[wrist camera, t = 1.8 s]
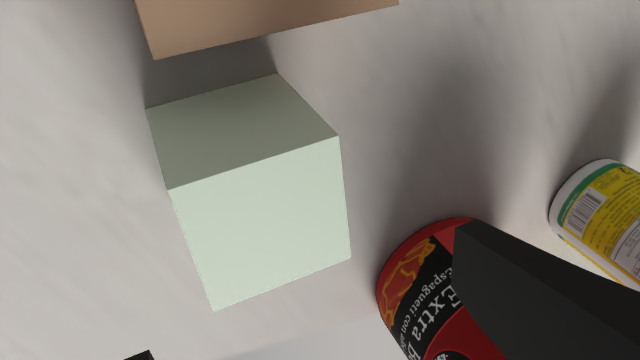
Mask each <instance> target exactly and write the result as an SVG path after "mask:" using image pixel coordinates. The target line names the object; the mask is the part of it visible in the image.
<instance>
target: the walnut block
mask: <svg viewBox="0 0 640 360" xmlns="http://www.w3.org/2000/svg"><path fill="white" fill-rule="evenodd" d="M133 2H134V5H135V8H136V11H137V15H138V18H139V21H140V24H141V27H142V31H143V34H144V36H145V39H146V41H147V44H148V47H149V49H150V52H151V54H152V57H153V60H158V59H162V58H167V57H171V56H175V55H180V54H184V53H188V52H193V51H197V50H202V49H206V48H210V47H215V46H219V45H224V44H228V43H232V42H237V41H241V40H245V39H250V38H254V37H259V36H263V35H267V34H272V33H276V32H281V31H285V30H289V29H294V28H298V27H302V26H307V25H311V24H316V23H320V22H324V21H329V20H333V19H338V18H342V17H346V16H351V15H355V14H359V13H364V12H368V11H373V10H377V9H381V8H386V7H390V6H395V5H399V0H133Z"/></svg>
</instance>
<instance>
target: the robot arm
mask: <svg viewBox="0 0 640 360" xmlns="http://www.w3.org/2000/svg"><path fill="white" fill-rule="evenodd" d="M451 287H452V289H453V290H454V292H455V293H456V295H457V296H458V298H459V299H460V301H461V303H462V304H463V306H464V307H465V308H466V310H467V311H468V313H469V314H470V315H471V317H472V318H473V320H474V321H475V322H476V324H477V325H478V326H479V327H480V328H481V329H482V331H483V332H484V333H485V334H486V335H487V336H488V338H489V339H490V340H491V341H492V342H493V343H494V344H495V346H496V347H497V348H498V349H499V350H500V351H501V352H502V354H503V355H504V356H505V357H506V358H507V359H508V360H640V292H639V291H637V290H634V289H631V288H629V287H626V286H624V285H621V284H619V283H616V282H614V281H611V280H609V279H606V278H604V277H602V276H599V275H597V274H594V273H592V272H590V271H587V270H585V269H583V268H580V267H578V266H576V265H574V264H571V263H569V262H567V261H565V260H563V259H560V258H558V257H556V256H554V255H552V254H550V253H547V252H545V251H543V250H541V249H539V248H537V247H535V246H533V245H531V244H528V243H526V242H524V241H522V240H520V239H518V238H516V237H514V236H512V235H510V234H508V233H506V232H503V231H501V230H499V229H497V228H495V227H493V226H491V225H489V224H487V223H484V222H482V221H480V220H478V219H475V220H472V221H470V222H467V223H465V224H462V225H460V226H457V227H455V232H454V246H453V260H452V274H451ZM124 360H154V358H153V356H152V355H151V353H150V351H149V350H147V351H144V352H142V353H139V354H137V355H134V356H132V357H129V358H127V359H124Z"/></svg>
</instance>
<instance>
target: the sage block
mask: <svg viewBox="0 0 640 360" xmlns="http://www.w3.org/2000/svg"><path fill="white" fill-rule="evenodd" d="M145 111H146V115H147V118H148V122H149V126H150V129H151V133H152V137H153V140H154V144H155V148H156V151H157V155H158V159H159V162H160V166H161V170H162V173H163V177H164V181H165V184H166V188H167V191H168V194H169V197H170V199H171V202H172V205H173V207H174V210H175V213H176V215H177V218H178V220H179V223H180V226H181V228H182V231H183V234H184V236H185V239H186V242H187V244H188V247H189V250H190V252H191V255H192V258H193V260H194V263H195V266H196V268H197V271H198V273H199V276H200V279H201V281H202V284H203V287H204V289H205V292H206V295H207V297H208V300H209V303H210V305H211V308H212V311H213V312H215V311H218V310H220V309H223V308H226V307H228V306H231V305H233V304H236V303H238V302H241V301H243V300H246V299H248V298H251V297H253V296H256V295H258V294H261V293H263V292H266V291H268V290H271V289H274V288H276V287H279V286H281V285H284V284H286V283H289V282H291V281H294V280H296V279H299V278H301V277H304V276H306V275H309V274H311V273H314V272H316V271H319V270H322V269H324V268H327V267H329V266H332V265H334V264H337V263H339V262H342V261H344V260H347V259H349V258H351V249H350V240H349V230H348V220H347V211H346V201H345V191H344V181H343V172H342V162H341V152H340V143H339V135H338V134H337V133H336V132H335V131H334V130H333V129H332V128H331V127H330V126H329V125H328V124H327V123H326V122H325V121H324V120H323V119H322V118H321V117H320V116H319V115H318V114H317V113H316V112H315V111H314V110H313V108H312V107H311V106H310V105H309V104H308V103H307V102H306V101H305V100H304V99H303V98H302V97H301V96H300V95H299V94H298V93H297V92H296V91H295V90H294V89H293V88H292V87H291V86H290V85H289V84H288V83H287V82H286V81H285V80H284V79H283V78H282V77H281V75H280V74H279V73H276V74H272V75H268V76H265V77H261V78H257V79H254V80H250V81H246V82H243V83H239V84H235V85H232V86H228V87H224V88H221V89H217V90H213V91H210V92H206V93H202V94H199V95H195V96H191V97H188V98H184V99H180V100H177V101H173V102H169V103H166V104H162V105H158V106H155V107H151V108H147V109H145Z"/></svg>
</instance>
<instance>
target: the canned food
mask: <svg viewBox="0 0 640 360" xmlns="http://www.w3.org/2000/svg"><path fill="white" fill-rule="evenodd" d="M472 220H475V219H473V218H466V217H458V218H450V219H446V220H442V221H439V222H436V223H434V224H432V225H429V226H427V227H425V228H424V229H422V230H420V231H419V232H417V233H415V234H414V235H413V236H411V237H410V238H409V239H408V240H406V241H405V242H404V243H403V244H402V245H401V246H400V247H399V248H398V249H397V250H396V251H395V252H394V253H393V255H392V256H391V257H390V259H389V260H388V261H387V263H386V264H385V266H384V268H383V270H382V272H381V274H380V276H379V280H378V283H377V287H376V299H377V304H378V308H379V311H380V315H381V318H382V320H383V321H384V323H385V325H386V326H387V328H388V329H389V331H390V333H391V334H392V336H393V337H394V338H395V340H396V342H397V343H398V344H399V346H400V347H401V349H402V350H403V352H404V354H405V355H406V356H407V358H408V360H508V359H507V358H506V357H505V356H504V355H503V354H502V352H501V351H500V350H499V349H498V348H497V347H496V346H495V344H494V343H493V342H492V341H491V340H490V339H489V338H488V336H487V335H486V334H485V333H484V332H483V331H482V329H481V328H480V327H479V326H478V325H477V324H476V322H475V321H474V320H473V318H472V317H471V315H470V314H469V313H468V311H467V310H466V308H465V307H464V306H463V304H462V303H461V301H460V299H459V298H458V296H457V295H456V293H455V292H454V290H453V289H452V287H451V274H452V260H453V246H454V232H455V227H457V226H460V225H462V224H465V223H467V222H470V221H472Z"/></svg>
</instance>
